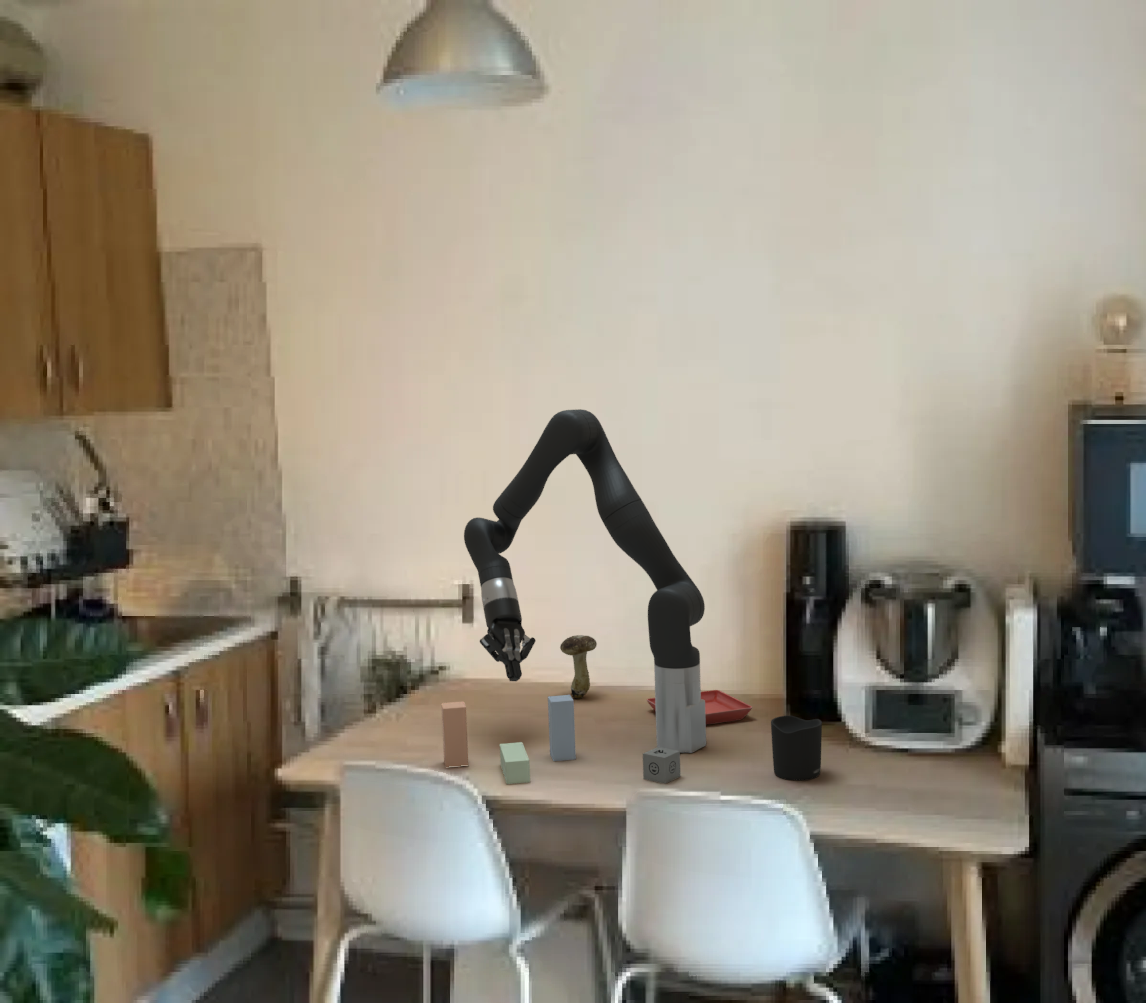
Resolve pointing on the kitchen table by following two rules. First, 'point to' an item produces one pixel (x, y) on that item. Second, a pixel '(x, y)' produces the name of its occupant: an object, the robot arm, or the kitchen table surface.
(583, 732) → the kitchen table surface
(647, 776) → the dice cube
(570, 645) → the mushroom
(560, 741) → the slate blue block
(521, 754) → the sage green block
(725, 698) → the red square tray
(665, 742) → the robot arm
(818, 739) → the pen holder
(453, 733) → the terracotta block
